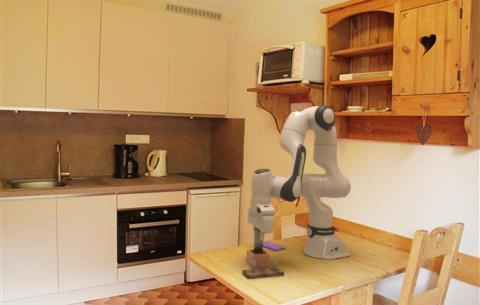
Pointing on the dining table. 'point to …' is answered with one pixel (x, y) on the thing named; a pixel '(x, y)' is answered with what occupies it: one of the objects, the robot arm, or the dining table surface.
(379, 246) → the dining table surface
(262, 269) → the peg board
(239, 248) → the dining table surface
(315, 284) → the dining table surface
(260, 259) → the socket
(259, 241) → the steel pin
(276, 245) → the sponges
